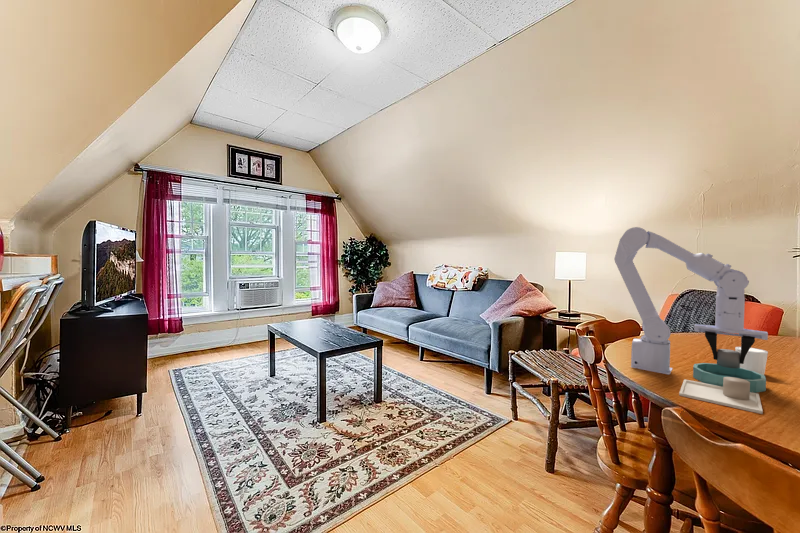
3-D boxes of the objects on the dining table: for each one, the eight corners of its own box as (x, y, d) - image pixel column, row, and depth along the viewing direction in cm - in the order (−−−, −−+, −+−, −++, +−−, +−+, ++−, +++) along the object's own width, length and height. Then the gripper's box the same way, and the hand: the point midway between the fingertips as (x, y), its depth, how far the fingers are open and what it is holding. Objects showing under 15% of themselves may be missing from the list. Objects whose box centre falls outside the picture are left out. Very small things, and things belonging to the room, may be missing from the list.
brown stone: (722, 396, 82) (723, 380, 82) (722, 391, 86) (723, 375, 85) (749, 402, 79) (750, 385, 79) (749, 396, 82) (749, 380, 82)
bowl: (691, 383, 92) (691, 371, 92) (695, 371, 102) (695, 360, 102) (767, 399, 82) (767, 385, 82) (763, 383, 92) (763, 371, 92)
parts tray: (679, 397, 83) (679, 392, 83) (683, 383, 92) (684, 379, 92) (762, 416, 73) (762, 411, 73) (758, 398, 82) (758, 393, 82)
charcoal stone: (728, 368, 92) (728, 354, 91) (712, 362, 96) (712, 349, 96) (744, 368, 92) (745, 353, 91) (728, 362, 96) (728, 348, 96)
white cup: (728, 368, 105) (728, 346, 104) (748, 368, 105) (748, 346, 105) (753, 376, 98) (753, 352, 98) (774, 376, 98) (775, 352, 98)
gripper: (694, 311, 96) (692, 358, 96) (769, 317, 86) (767, 370, 86) (695, 308, 101) (694, 353, 101) (767, 314, 91) (765, 364, 91)
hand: (728, 360), depth 94 cm, fingers closed on charcoal stone, 5 cm apart
